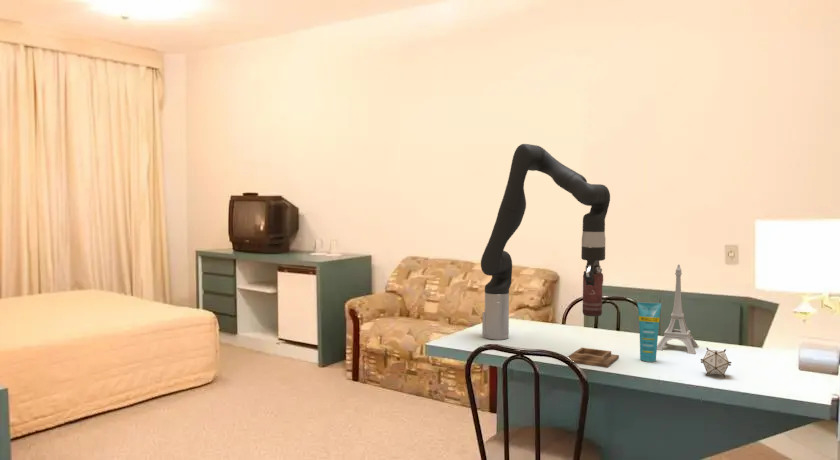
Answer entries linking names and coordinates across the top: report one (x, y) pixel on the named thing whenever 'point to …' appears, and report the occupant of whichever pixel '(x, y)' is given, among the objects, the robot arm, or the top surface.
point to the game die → (715, 362)
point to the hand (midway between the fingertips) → (592, 298)
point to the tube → (648, 329)
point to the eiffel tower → (678, 315)
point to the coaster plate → (593, 357)
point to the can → (593, 296)
